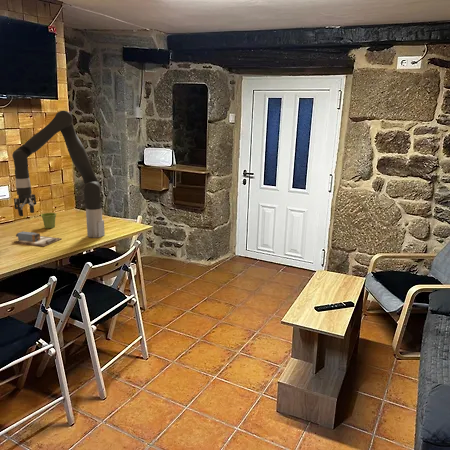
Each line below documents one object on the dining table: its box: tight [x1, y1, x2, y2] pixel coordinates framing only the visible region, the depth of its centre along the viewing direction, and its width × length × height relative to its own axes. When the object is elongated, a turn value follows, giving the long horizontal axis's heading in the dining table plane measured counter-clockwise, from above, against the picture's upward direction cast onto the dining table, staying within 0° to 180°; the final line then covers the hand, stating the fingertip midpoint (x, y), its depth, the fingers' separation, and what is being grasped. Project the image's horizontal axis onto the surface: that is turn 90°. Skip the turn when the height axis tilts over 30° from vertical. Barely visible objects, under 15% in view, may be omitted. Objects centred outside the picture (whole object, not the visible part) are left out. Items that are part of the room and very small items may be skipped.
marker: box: [15, 230, 41, 242], centre depth 243 cm, size 14×4×4 cm, turn 73°
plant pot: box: [40, 212, 57, 229], centre depth 271 cm, size 9×9×9 cm
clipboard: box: [14, 235, 62, 247], centre depth 243 cm, size 20×15×2 cm
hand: (26, 214), depth 239 cm, fingers open, 8 cm apart
